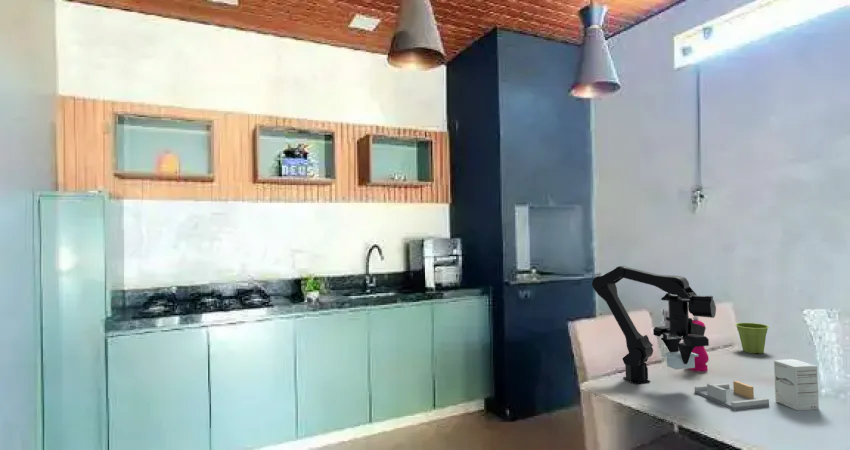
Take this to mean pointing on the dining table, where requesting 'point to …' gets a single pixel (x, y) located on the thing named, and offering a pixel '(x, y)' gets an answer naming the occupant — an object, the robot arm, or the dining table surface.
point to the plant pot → (752, 336)
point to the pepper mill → (699, 352)
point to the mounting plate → (732, 395)
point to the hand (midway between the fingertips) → (680, 362)
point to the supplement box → (796, 384)
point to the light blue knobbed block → (679, 360)
